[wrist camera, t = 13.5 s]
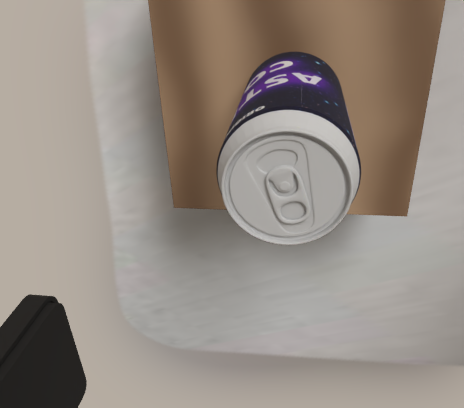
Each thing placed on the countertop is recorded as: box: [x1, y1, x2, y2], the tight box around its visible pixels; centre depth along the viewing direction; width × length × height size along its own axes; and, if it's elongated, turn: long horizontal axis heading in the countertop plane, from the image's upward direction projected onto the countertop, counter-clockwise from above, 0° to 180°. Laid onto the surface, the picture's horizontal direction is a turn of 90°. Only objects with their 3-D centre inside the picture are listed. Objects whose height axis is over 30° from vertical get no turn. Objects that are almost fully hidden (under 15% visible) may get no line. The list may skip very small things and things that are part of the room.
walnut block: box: [148, 0, 445, 216], centre depth 30 cm, size 16×16×8 cm
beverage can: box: [216, 52, 361, 245], centre depth 22 cm, size 6×6×12 cm
